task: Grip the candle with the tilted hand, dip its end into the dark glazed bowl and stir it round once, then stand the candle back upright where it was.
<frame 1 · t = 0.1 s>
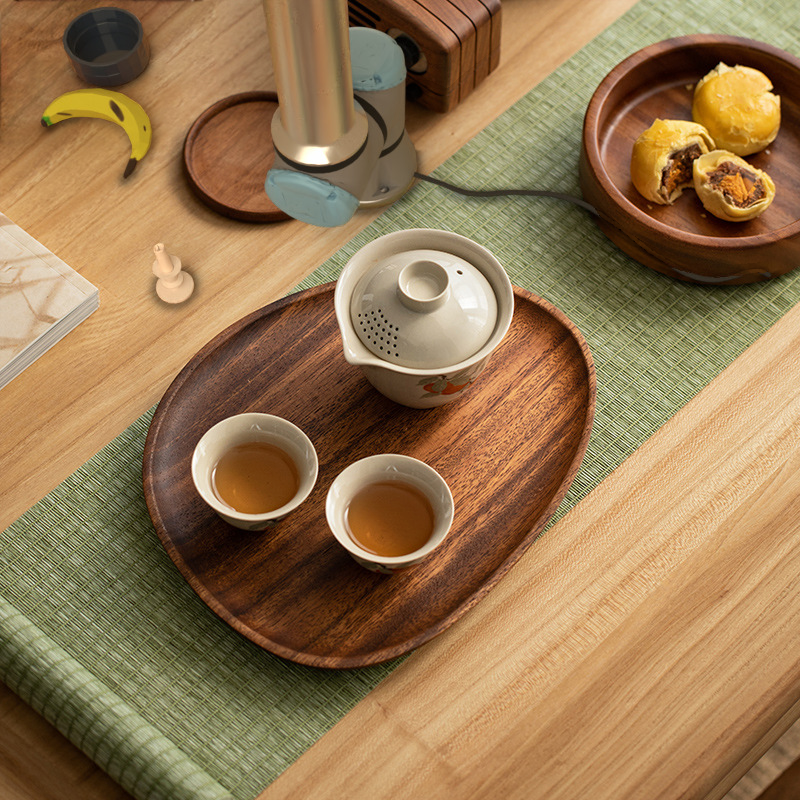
banana: (98, 140, 139), on the table
bowl: (112, 60, 146), on the table
candle: (175, 288, 128), on the table
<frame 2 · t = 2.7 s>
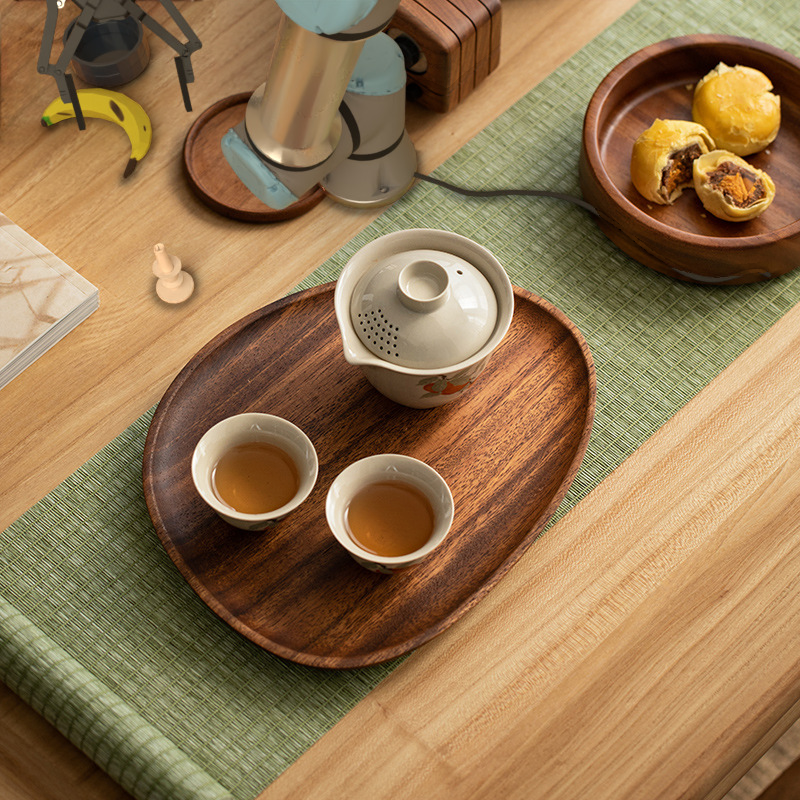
hand: (136, 119, 119), 17 cm above the table, tool tilted 35°, fingers open, 13 cm apart
nothing on the table moved.
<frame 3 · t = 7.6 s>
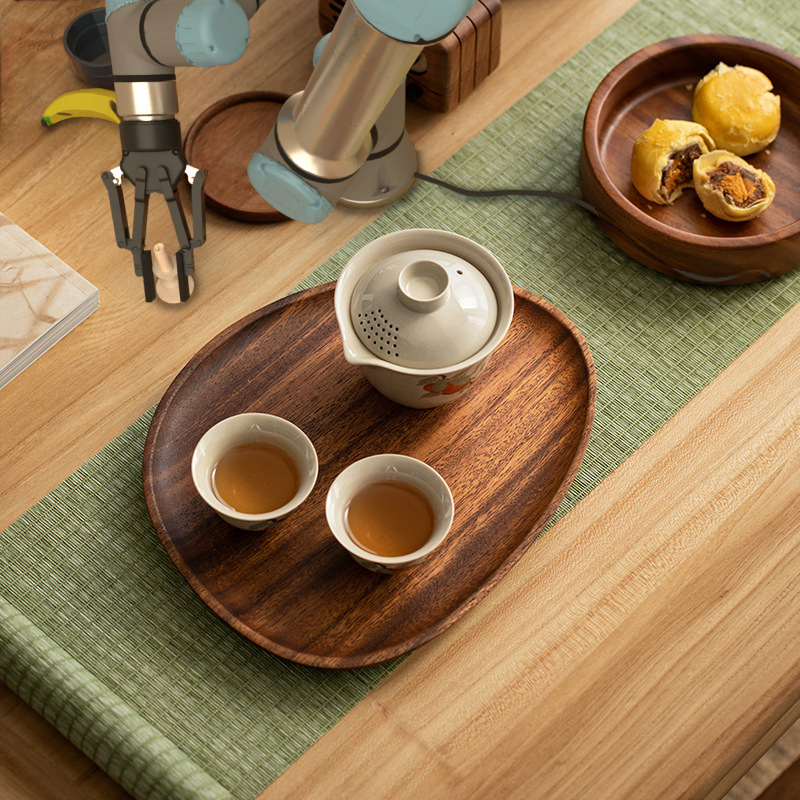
hand: (168, 299, 124), 3 cm above the table, tool tilted 45°, fingers closed on candle, 4 cm apart
candle: (175, 288, 128), on the table, touching gripper
everything else where it was.
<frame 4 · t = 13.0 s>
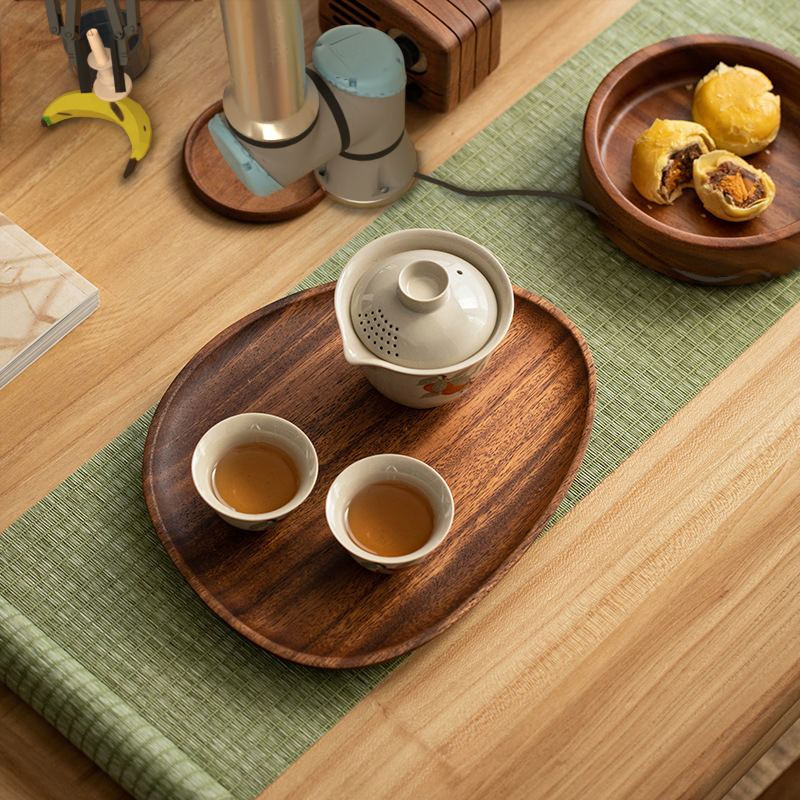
hand: (103, 92, 123), 15 cm above the table, tool tilted 45°, fingers closed on candle, 4 cm apart
candle: (113, 88, 128), point 12 cm above the table, touching gripper
everything else where it was.
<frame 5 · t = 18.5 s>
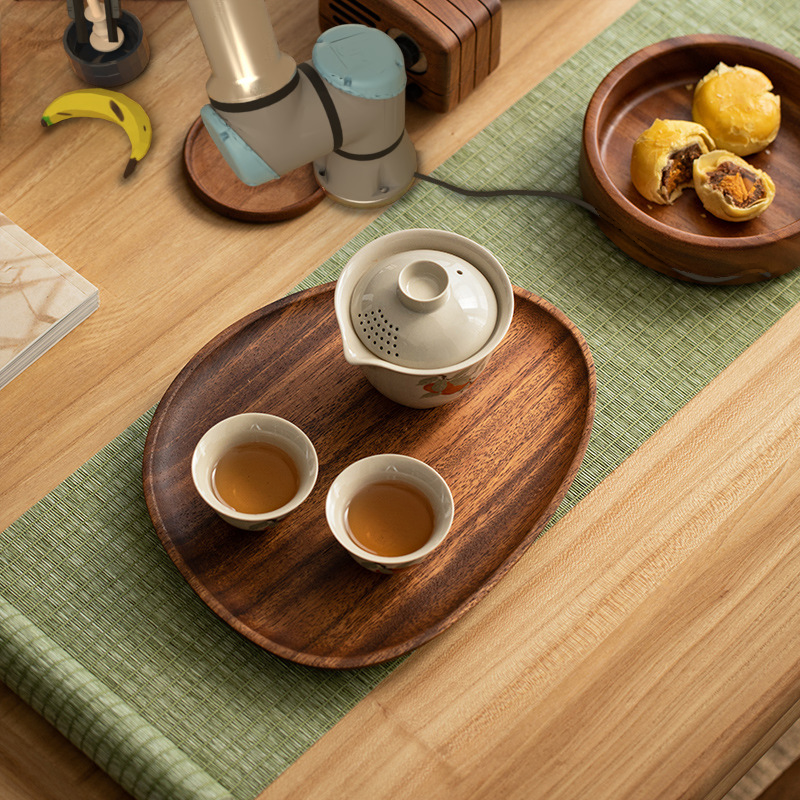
hand: (98, 42, 139), 6 cm above the table, tool tilted 45°, fingers closed on candle, 4 cm apart
candle: (107, 40, 143), point 3 cm above the table, touching gripper
everything else where it was.
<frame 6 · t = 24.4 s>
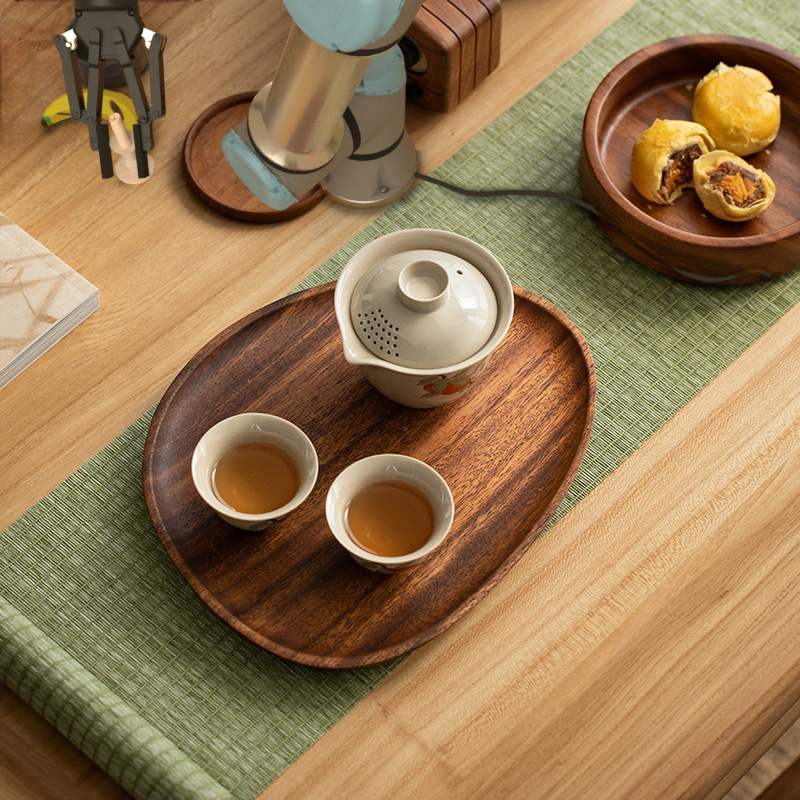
hand: (126, 176, 117), 15 cm above the table, tool tilted 45°, fingers closed on candle, 4 cm apart
candle: (136, 169, 122), point 12 cm above the table, touching gripper
everything else where it was.
when the fingers open (3 cm above the table, at t = 29.3 s): candle stays where it is, on the table.
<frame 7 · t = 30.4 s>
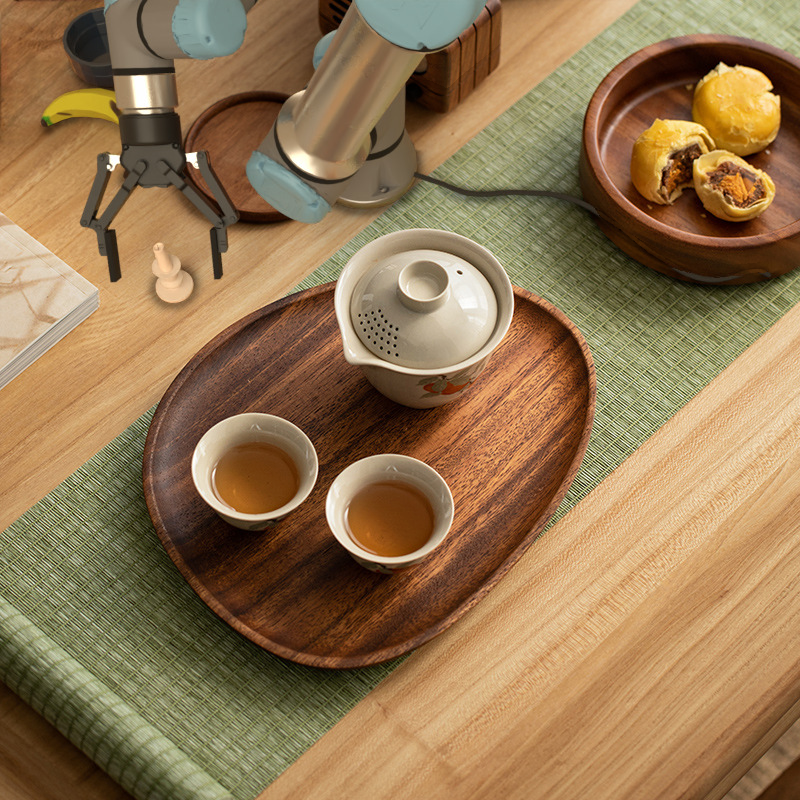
hand: (167, 279, 122), 5 cm above the table, tool tilted 45°, fingers open, 13 cm apart
candle: (175, 287, 128), on the table
everything else where it was.
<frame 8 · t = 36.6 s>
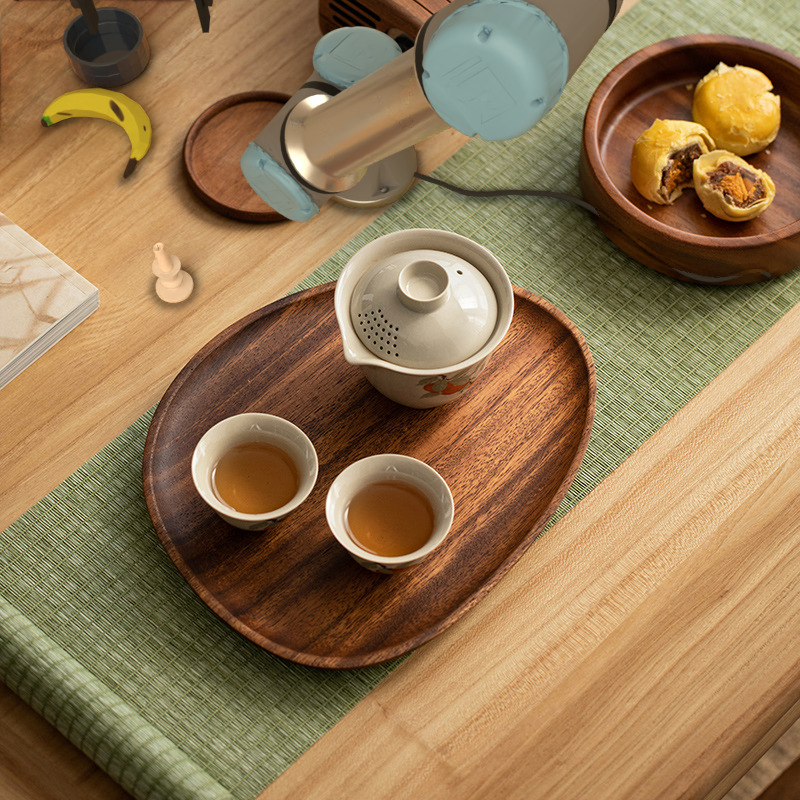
hand: (150, 25, 113), 27 cm above the table, tool pointing down, fingers open, 13 cm apart
nothing on the table moved.
at the end: candle tilted 0°; the gripper is holding nothing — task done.
